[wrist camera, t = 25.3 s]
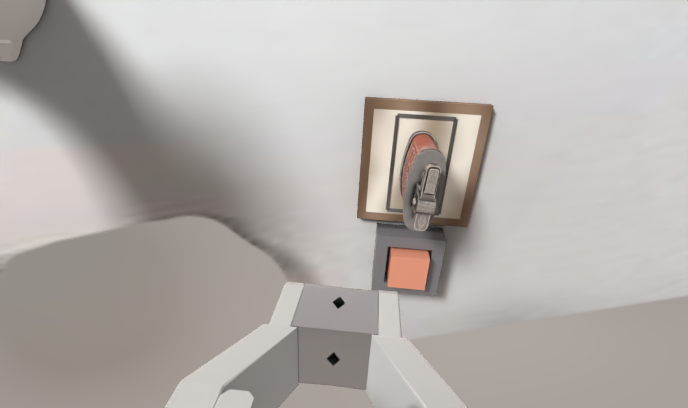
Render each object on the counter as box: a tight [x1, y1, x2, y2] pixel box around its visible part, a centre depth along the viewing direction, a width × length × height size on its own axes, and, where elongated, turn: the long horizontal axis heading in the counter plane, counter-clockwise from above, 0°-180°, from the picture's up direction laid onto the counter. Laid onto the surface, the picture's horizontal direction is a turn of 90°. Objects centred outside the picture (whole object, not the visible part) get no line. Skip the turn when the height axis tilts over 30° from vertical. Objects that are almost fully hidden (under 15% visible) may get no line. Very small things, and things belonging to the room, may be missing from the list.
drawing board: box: [357, 97, 493, 227], centre depth 39 cm, size 13×14×1 cm
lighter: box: [399, 130, 446, 231], centre depth 34 cm, size 8×3×10 cm, turn 174°
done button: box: [387, 247, 430, 290], centre depth 42 cm, size 4×4×3 cm
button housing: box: [372, 223, 447, 296], centre depth 44 cm, size 8×8×3 cm
